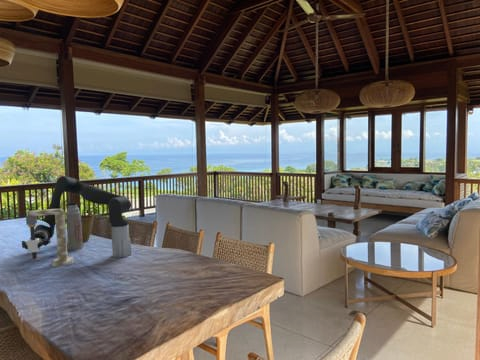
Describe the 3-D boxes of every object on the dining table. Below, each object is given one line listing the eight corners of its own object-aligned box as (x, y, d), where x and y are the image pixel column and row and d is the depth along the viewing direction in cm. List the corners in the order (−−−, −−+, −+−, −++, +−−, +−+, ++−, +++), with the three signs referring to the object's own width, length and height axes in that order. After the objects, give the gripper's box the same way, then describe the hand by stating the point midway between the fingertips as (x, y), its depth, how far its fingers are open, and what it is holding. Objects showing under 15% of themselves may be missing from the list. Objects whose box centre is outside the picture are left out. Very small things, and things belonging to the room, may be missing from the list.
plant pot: (85, 244, 211) (83, 219, 210) (64, 243, 214) (63, 219, 213) (99, 238, 226) (98, 214, 224) (80, 237, 229) (78, 214, 227)
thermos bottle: (85, 247, 204) (82, 202, 201) (72, 251, 198) (69, 204, 195) (78, 245, 209) (75, 201, 206) (65, 248, 202) (62, 203, 200)
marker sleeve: (39, 249, 176) (39, 238, 175) (38, 251, 171) (37, 240, 171) (29, 250, 174) (28, 239, 173) (27, 252, 170) (27, 241, 169)
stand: (73, 258, 184) (69, 207, 181) (71, 263, 176) (68, 209, 173) (34, 263, 177) (30, 209, 174) (31, 269, 169) (26, 212, 166)
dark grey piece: (40, 259, 176) (36, 214, 173) (38, 262, 172) (34, 216, 170) (31, 260, 174) (27, 215, 172) (29, 263, 171) (25, 217, 168)
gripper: (23, 233, 183) (15, 241, 167) (53, 230, 188) (47, 237, 172) (24, 246, 183) (16, 255, 168) (54, 243, 189) (49, 252, 173)
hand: (32, 246), depth 170 cm, fingers closed on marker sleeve, 4 cm apart
